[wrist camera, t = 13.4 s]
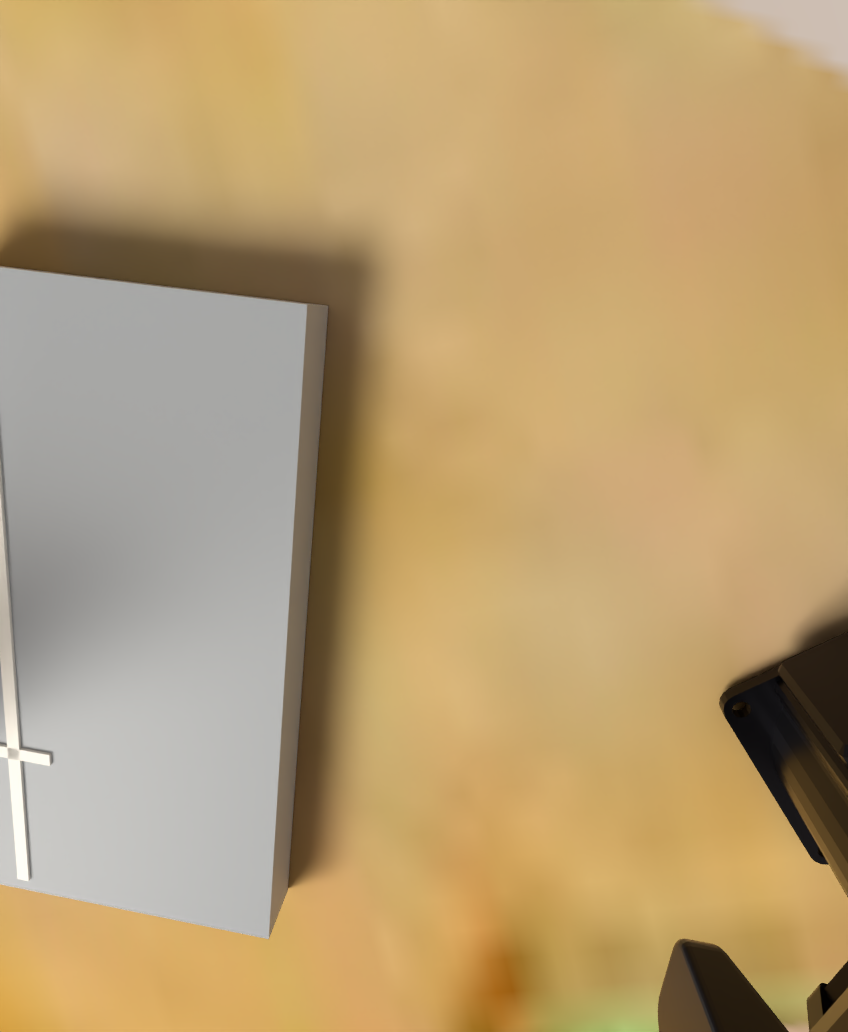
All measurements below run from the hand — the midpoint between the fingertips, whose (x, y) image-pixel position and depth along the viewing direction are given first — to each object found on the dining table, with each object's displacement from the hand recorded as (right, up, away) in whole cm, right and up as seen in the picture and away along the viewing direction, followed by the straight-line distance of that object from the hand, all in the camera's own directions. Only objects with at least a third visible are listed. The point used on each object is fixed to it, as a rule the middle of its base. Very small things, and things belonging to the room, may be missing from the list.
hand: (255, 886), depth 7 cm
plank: (-7, +1, +14) cm, 16 cm away
